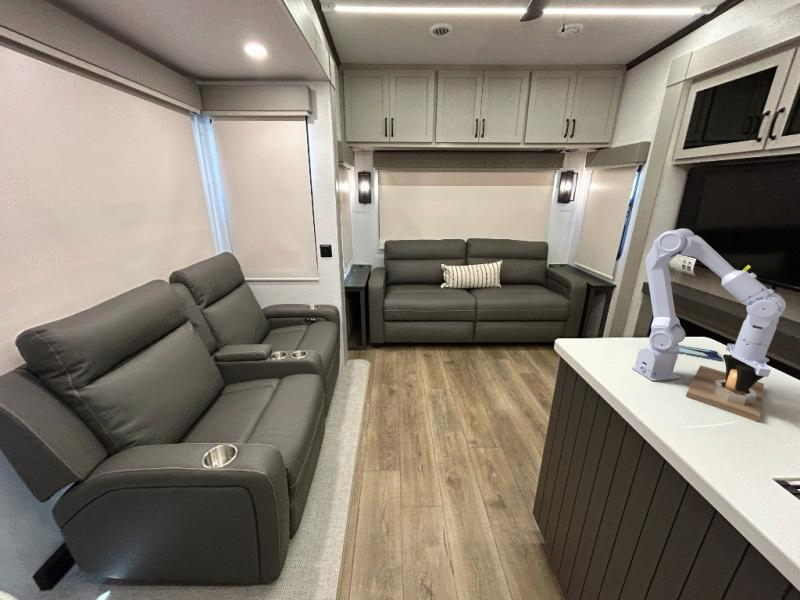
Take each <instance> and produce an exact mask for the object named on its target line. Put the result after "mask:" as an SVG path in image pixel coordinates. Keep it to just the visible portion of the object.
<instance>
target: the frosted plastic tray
mask: <svg viewBox="0 0 800 600" xmlns="http://www.w3.org/2000/svg"><path fill="white" fill-rule="evenodd" d="M726 382H727V381H726V380H717V381H715V383H714V386H713V391H714V394H716V395H718V396H720V397H721V398H723V399H725V400H727V401H730V402H734V403H738V404H742V405H747V404H754V401H755V399H756V396H757V395H756V393H755V391H754V390H753V389H751V388H750V389H749V390H748V391H747V392H746V393H745V394H740V393H736V392H732V391H730V390H728V389H726V388H725V385H726Z"/></svg>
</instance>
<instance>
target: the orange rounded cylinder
mask: <svg viewBox="0 0 800 600" xmlns="http://www.w3.org/2000/svg"><path fill="white" fill-rule="evenodd" d="M736 380H737V369H732V370H731V371H730V374H729V376H728V379H727V382H726V385H725V388H726V389H728V390H730V391H732V392H736V393H740V394H745V393H746V392H741V391H737V390H736V389H735V385H736Z"/></svg>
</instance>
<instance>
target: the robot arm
mask: <svg viewBox="0 0 800 600" xmlns="http://www.w3.org/2000/svg"><path fill="white" fill-rule="evenodd" d="M679 254H680V256H685V257H686V256H687V257H691V258H696V260H698V261H699V262H701V263H702V264H704V265H705V266H706V267H707V268H708V269H709V270H711V271H712V272H713V273H715V275H717V276H718V277H720V278H721V287H723V289H725V290H726V291H727V292H728V293H730V295H732V296H733V297H734V298H735V299H736V300H738V302H739V303H741V304H742V305H745V306H746V312H747V315H746V317H745V319H744V320H743V323H742V326H741V328H740V331H739V333H738V335H737V339H736V342H735V343H727V345H726V348H725V350H726V351H727V352H729V353H730V354H726V353H725V354H723V355H722V358H723V360H724V363H725V372H726V381H727V379H728V376H729V374H730V371H731V370H732V369H737V380H736V385H735V389H736V390H737V391H741V392H747V391H748V390H749V389H750V388H751V387H752V386H753V385H754V384H755V383H756V382H759V381H760V380H761V379H764V378H766V377H769V375H770V374H771V373H770V372H771V369H770V368H769V366H768V365H767V363H768V362H769V361H770V359H769V358H768V357H767V356H766V355H767V352H768V350H769V348H770V346H771V345H770V344H771V342H772V340H773V338H774V335H775V332H776V330H777V325H778V324H779V322H780V321H779V320H780V317H781V316H782V314H783V313H784V311H785V309H786V308H787V303H786V301H785V299H784V298H783V297H782V295H781V294H778V293H776V292H775V291H774V289H773V288H769V289H768V288H767V287H766V286H765V285H764V284H762V282H760V280H758V279H757V277H758V276H757V274H755V273H754V272H751V273H749V272H748V271H747V270H737V269H736V268H734V267H733V266H732V265H731V264H730V263H729V262H728V261H727V260H726V259H724V258H723V257H722V256H721V254H719V253H718V252H717V251H716V250H715V249H714V248H712V246H711V245H709V244H708V243H707V241H705V240H704V239H703V238H702V237H701V236H699V235H697V234H696V235H695V233H694V232H693V231H692V230H690V229H689V228H679V229H675V230H673V229H672V230H667V231H665V232H663V233H661V234H659V236H657V238H655V239H654V240H653V242H652V247H651V249H650V250H649V252H648V254H647V255H646V258H645V268H646V274H647V275H646V276H647V282H648V289H649V294H650V296H649V297H650V301H651V308H652V316H653V319H652V322H651V326H650V328H651V329H650V330H651V332H650V335H649V337H648V340H649V344H648V346H646V347H643V348H641V349H639V351H638V353H637V356H636V359H635V363H634V365H633V366H631V369H632V370H635V371H636V372H637V373H639V374H641V375H642V376H644V377H645V378H647V379H648V380H650V381H652V382H657V381H658V382H659V381H667V380H676V379H680V376H679V375H677V374H676V373H673V372H674V369H675V367H676V363H677V360H678V357H679V350H680V349H679V346H678V345H679V344H680V343H682V342H683V341H684V340H685V338H686V331H685V329H684V328H683V327H682V326H681V322H680V319H679V318H678V316H677V315H676V310H675V309H676V308H675V303H674V298H673V290H672V282H671V276H670V267H669V263H670V262H671V261H672V260H674V259H675V258H676V257H677V255H679Z"/></svg>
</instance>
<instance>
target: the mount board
mask: <svg viewBox="0 0 800 600" xmlns="http://www.w3.org/2000/svg"><path fill="white" fill-rule="evenodd" d="M717 380H726V371H721V370H718V369H716V368H711V367H708V366H705V365H702V364H701V365H699V367H698V370H697V372H696V374H695V375H694V378H693V380H692V381H691V384H690V385H689V388H688V390H687V392H686V395H685V397H686V398H688V399H691V400H695V401H697V402H700V403H703V404H707V405H708V406H711V407H714V408H718V409H720V410H723V411H725V412H728V413H731V414H734V415H736V416H740V417H742V418H745V419H748V420H750V421H755V422H757V423H758V422H759V420H760V417H761V410H762V404H763V397H764V396H763V395H764V387H765V383H763V382H760V381H757V382H756V383H755V384H754V385H753V386H752V387H751V389H753V390H754V391H755V393H756V395H757V396H756V399H755V401H754V404H747V405H742V404H738V403H734V402H730V401H727V400H725V399H723V398H721V397H720V396H718V395H716V394H714V391H713V386H714V383H715V381H717Z"/></svg>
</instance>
